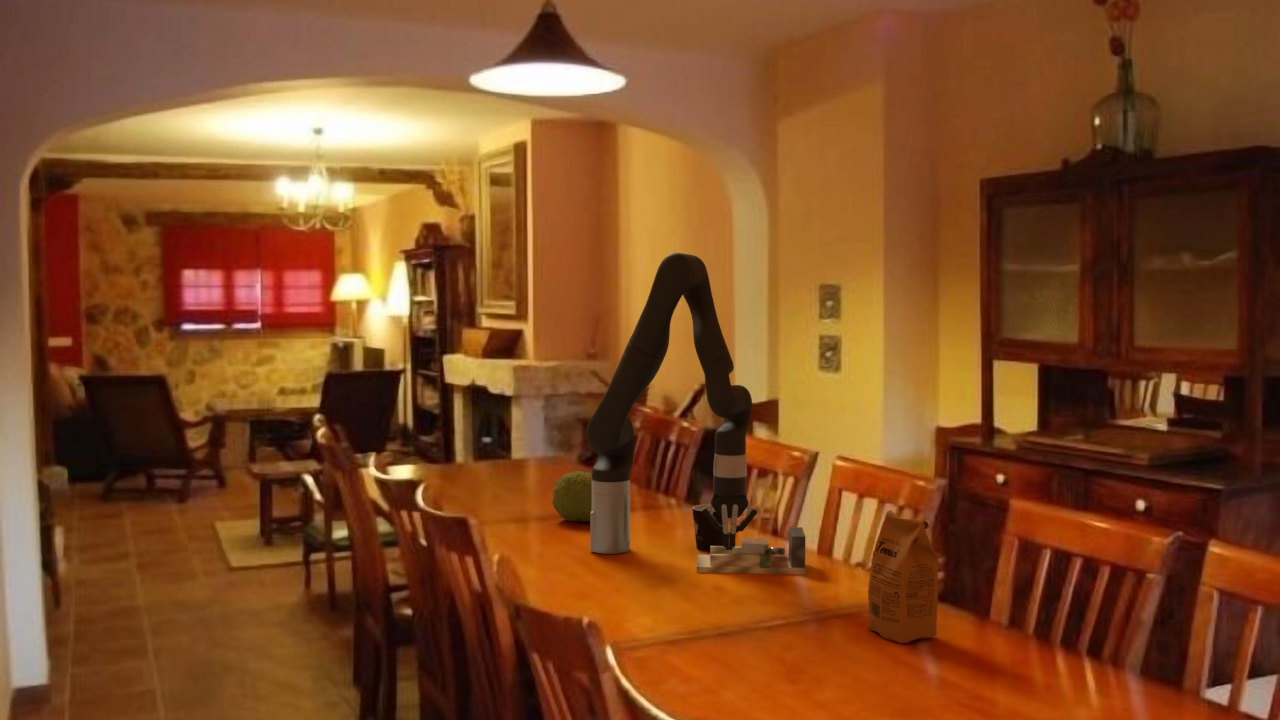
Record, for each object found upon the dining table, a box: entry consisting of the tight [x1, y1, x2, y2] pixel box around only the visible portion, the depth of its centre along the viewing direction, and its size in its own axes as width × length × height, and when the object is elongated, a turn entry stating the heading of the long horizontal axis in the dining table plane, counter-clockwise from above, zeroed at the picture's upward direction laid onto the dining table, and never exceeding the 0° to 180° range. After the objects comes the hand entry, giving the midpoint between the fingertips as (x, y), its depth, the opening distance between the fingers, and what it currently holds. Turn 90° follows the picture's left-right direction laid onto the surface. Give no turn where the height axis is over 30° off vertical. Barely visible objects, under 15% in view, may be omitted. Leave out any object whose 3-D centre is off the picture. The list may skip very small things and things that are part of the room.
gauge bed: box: [696, 526, 806, 575], centre depth 259 cm, size 24×12×8 cm, turn 86°
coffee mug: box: [691, 504, 723, 553], centre depth 278 cm, size 12×9×10 cm
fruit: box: [551, 470, 592, 523], centre depth 309 cm, size 16×14×15 cm
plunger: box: [740, 537, 782, 555], centre depth 257 cm, size 9×9×4 cm
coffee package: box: [867, 510, 939, 644], centre depth 208 cm, size 10×12×22 cm
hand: (729, 549), depth 259 cm, fingers closed
